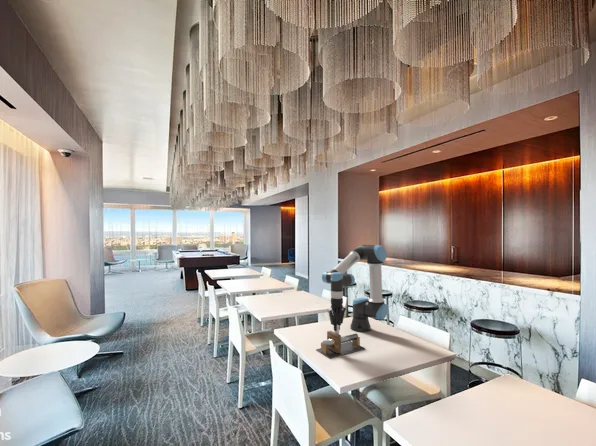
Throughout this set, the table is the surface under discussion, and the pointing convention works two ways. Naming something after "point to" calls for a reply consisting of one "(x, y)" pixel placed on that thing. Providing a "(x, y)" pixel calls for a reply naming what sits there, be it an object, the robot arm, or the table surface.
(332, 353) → the pipe rig
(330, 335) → the collar
